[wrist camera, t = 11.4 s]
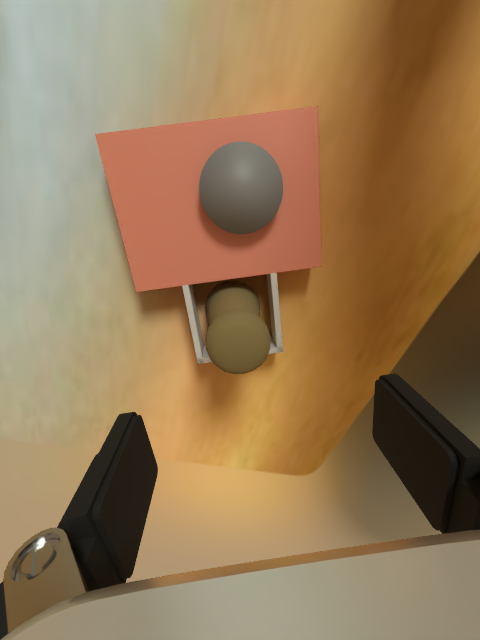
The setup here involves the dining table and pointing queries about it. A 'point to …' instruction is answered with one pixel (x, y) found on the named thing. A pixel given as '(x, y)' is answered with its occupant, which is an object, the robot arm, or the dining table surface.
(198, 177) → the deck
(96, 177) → the dining table surface
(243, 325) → the cork
